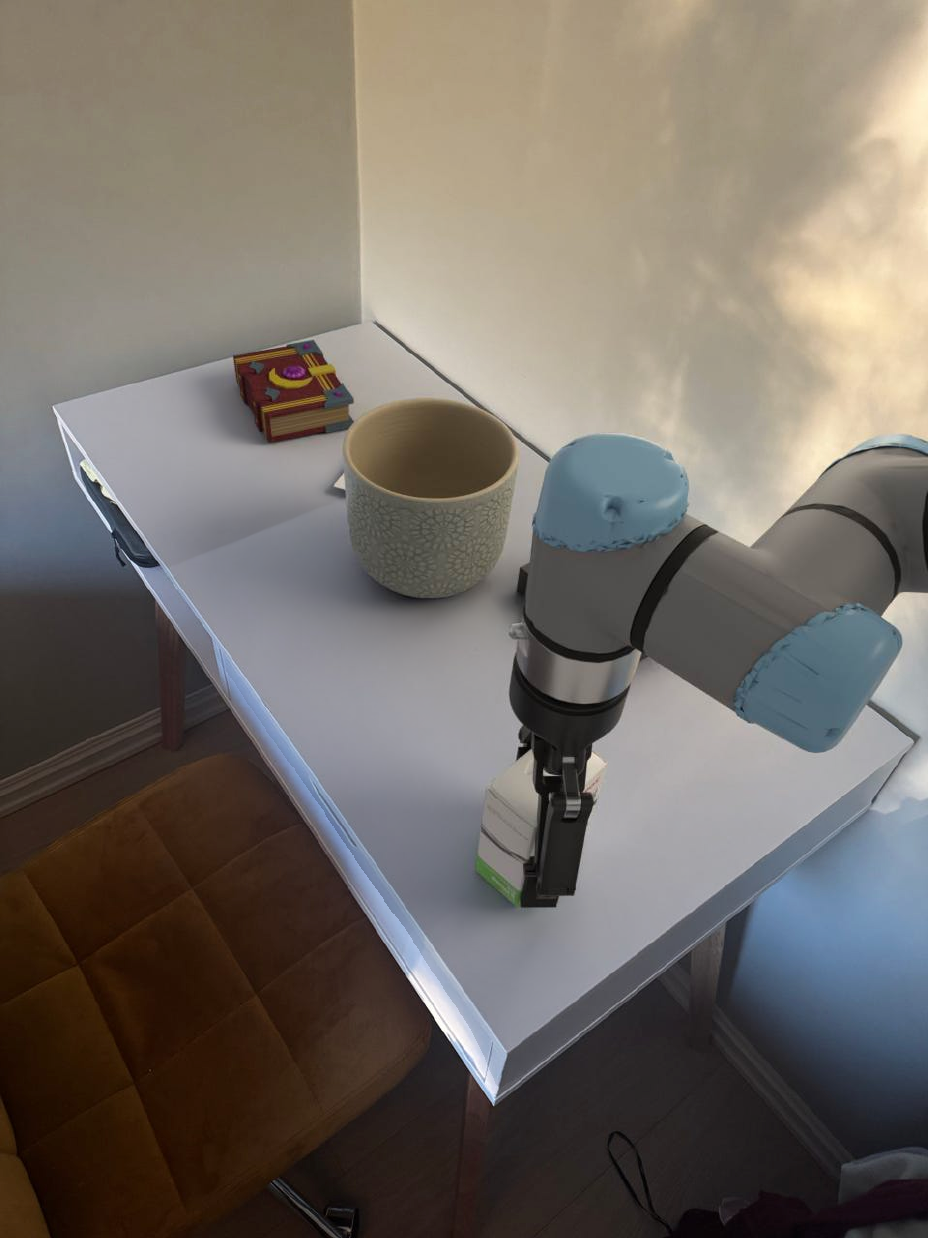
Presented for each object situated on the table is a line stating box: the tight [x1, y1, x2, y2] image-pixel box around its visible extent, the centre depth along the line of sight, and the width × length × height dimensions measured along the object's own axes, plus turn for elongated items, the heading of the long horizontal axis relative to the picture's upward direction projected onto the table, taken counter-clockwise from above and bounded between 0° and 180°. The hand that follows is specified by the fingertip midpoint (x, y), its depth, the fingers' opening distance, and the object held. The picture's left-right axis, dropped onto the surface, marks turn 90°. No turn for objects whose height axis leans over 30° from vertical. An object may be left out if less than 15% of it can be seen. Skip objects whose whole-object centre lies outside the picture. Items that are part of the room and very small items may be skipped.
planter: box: [342, 397, 520, 599], centre depth 92 cm, size 17×17×15 cm
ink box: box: [475, 749, 609, 907], centre depth 70 cm, size 9×5×12 cm, turn 135°
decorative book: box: [232, 339, 355, 444], centre depth 115 cm, size 11×16×5 cm
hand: (532, 847), depth 73 cm, fingers closed on ink box, 9 cm apart
